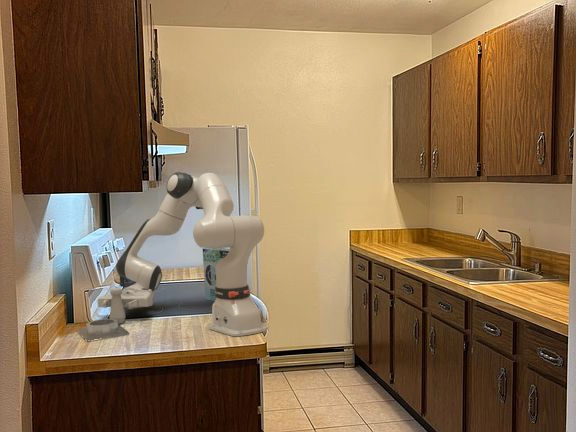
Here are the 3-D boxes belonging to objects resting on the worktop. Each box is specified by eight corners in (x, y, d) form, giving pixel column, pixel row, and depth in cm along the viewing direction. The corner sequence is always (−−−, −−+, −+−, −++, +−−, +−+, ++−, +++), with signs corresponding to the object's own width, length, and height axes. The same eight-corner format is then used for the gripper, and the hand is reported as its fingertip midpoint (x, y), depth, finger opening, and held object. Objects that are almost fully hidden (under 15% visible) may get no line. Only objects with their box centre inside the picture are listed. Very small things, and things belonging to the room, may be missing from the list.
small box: (123, 287, 279) (122, 266, 279) (119, 285, 285) (118, 265, 284) (143, 284, 285) (142, 264, 284) (139, 282, 290) (138, 263, 290)
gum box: (241, 303, 233) (238, 249, 231) (231, 306, 229) (229, 250, 228) (213, 297, 247) (211, 246, 245) (204, 299, 244) (201, 247, 242)
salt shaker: (121, 324, 204) (119, 289, 204) (106, 324, 205) (104, 289, 205) (128, 321, 209) (126, 287, 210) (114, 321, 210) (112, 287, 211)
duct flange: (129, 334, 191) (128, 323, 191) (86, 342, 184) (86, 330, 184) (116, 325, 205) (116, 314, 205) (76, 331, 198) (76, 321, 197)
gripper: (106, 289, 221) (89, 297, 207) (155, 289, 218) (141, 296, 204) (107, 305, 221) (90, 313, 208) (156, 305, 218) (142, 313, 205)
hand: (116, 305), depth 206 cm, fingers open, 8 cm apart
